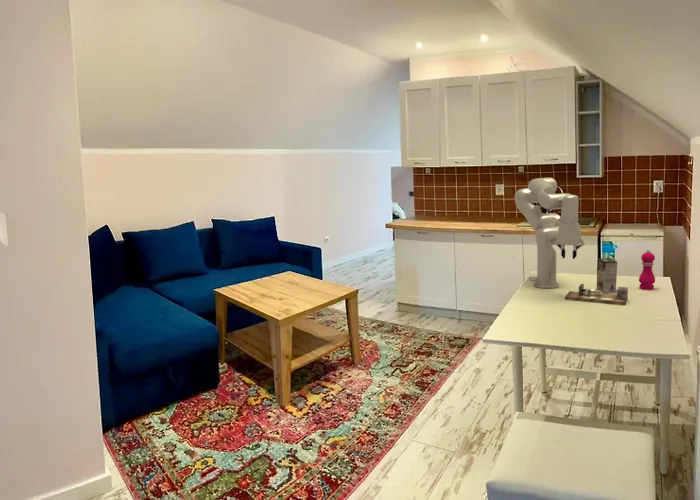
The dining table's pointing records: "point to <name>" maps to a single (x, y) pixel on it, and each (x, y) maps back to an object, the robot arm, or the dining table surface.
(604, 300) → the base
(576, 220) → the robot arm
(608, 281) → the coffee box
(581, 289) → the grey rod with block
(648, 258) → the pepper mill
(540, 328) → the dining table surface
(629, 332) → the dining table surface
